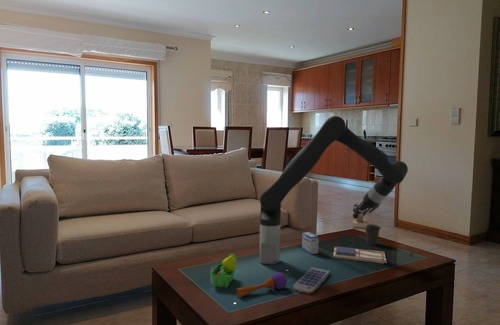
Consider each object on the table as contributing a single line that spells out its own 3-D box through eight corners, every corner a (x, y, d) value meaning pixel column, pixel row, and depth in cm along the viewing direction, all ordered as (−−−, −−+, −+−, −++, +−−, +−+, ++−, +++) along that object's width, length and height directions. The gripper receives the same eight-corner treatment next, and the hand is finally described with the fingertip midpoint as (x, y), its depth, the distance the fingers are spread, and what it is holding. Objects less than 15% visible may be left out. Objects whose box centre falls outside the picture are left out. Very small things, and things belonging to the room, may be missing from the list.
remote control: (330, 275, 147) (330, 270, 147) (311, 296, 128) (311, 290, 128) (311, 271, 151) (311, 266, 151) (291, 291, 132) (291, 285, 132)
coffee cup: (364, 245, 186) (365, 226, 185) (363, 240, 194) (364, 222, 193) (380, 246, 184) (381, 227, 183) (379, 242, 192) (379, 223, 191)
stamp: (366, 229, 165) (366, 211, 164) (353, 228, 167) (353, 210, 166) (366, 226, 171) (366, 208, 170) (353, 225, 172) (353, 208, 172)
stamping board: (386, 263, 160) (386, 261, 160) (332, 258, 166) (333, 255, 166) (384, 253, 173) (384, 251, 173) (334, 248, 180) (334, 246, 180)
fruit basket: (218, 275, 144) (218, 248, 143) (239, 277, 143) (239, 250, 142) (210, 287, 133) (210, 258, 132) (233, 289, 132) (233, 260, 131)
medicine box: (301, 249, 178) (302, 232, 177) (309, 248, 180) (309, 231, 179) (310, 254, 171) (311, 237, 170) (318, 253, 173) (318, 235, 172)
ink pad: (355, 256, 166) (355, 254, 166) (335, 254, 168) (335, 251, 168) (355, 250, 174) (355, 248, 174) (336, 248, 177) (336, 246, 177)
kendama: (233, 283, 128) (280, 269, 138) (236, 299, 128) (282, 285, 137) (240, 286, 123) (288, 272, 132) (243, 303, 123) (291, 288, 132)
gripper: (383, 188, 163) (364, 209, 175) (359, 190, 157) (341, 211, 170) (392, 201, 159) (372, 222, 171) (367, 204, 153) (348, 225, 165)
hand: (356, 216), depth 170 cm, fingers closed on stamp, 3 cm apart
